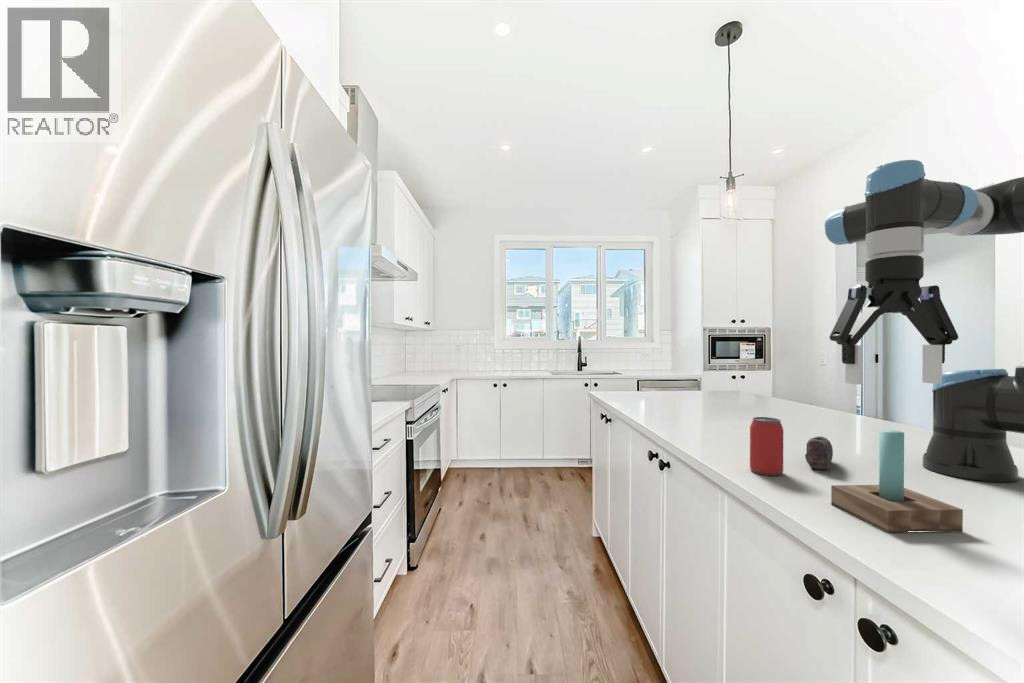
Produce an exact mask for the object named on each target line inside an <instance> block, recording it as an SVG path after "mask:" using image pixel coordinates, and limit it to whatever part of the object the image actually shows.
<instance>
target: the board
mask: <svg viewBox="0 0 1024 683" xmlns="http://www.w3.org/2000/svg"><path fill="white" fill-rule="evenodd" d="M830 492H831V495H830V497H831V498H830V502H831V503H830V504H831V506H834V507H836V508H838V509H839V510H841V511H844V512H845V513H847V512H848V513H847V514H850V515H851V516H853V515H854V516H853V517H855V516H856V517H855V518H857V517H858V518H857V519H859V518H860V519H859V520H861V519H862V520H861V521H863V520H864V521H863V522H865V521H866V522H865V523H867V522H868V523H867V524H869V523H870V525H871V524H872V525H871V526H873V525H874V526H873V527H875V526H876V528H877V527H878V528H877V529H879V528H880V529H879V530H881V529H882V530H881V531H883V530H884V531H883V532H885V531H886V532H885V533H887V532H908V531H963V529H964V527H963V525H964V523H963V520H964V519H963V517H964V514H963V513H964V509H963V508H960V507H957V506H954V505H951V504H949V503H947V502H943V501H940V500H938V499H936V498H933V497H930V496H927V495H924V494H923V493H920V492H917V491H914V490H912V489H911V490H910V489H908V488H905V487H904V502H890V501H888V500H885V499H883V498H881V497H879V484H849V485H848V484H846V485H845V484H843V485H841V484H840V485H838V484H837V485H835V484H833V485H832V484H831V491H830Z"/></svg>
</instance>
